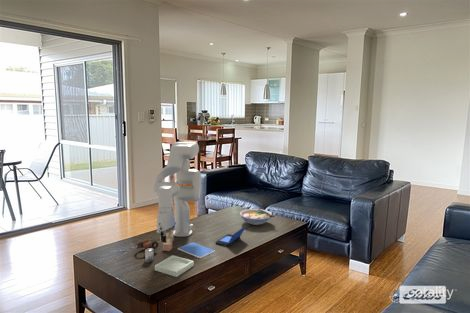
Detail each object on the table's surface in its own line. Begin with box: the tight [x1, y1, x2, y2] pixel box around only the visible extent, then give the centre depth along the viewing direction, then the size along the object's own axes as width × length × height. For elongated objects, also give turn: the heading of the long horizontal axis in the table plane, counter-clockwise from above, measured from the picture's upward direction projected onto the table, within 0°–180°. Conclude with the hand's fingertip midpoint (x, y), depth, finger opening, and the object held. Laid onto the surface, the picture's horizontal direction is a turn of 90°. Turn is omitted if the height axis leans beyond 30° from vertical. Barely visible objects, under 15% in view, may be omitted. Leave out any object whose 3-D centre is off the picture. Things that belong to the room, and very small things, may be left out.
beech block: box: [159, 229, 174, 244], centre depth 182 cm, size 5×5×6 cm
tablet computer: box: [177, 241, 216, 259], centre depth 192 cm, size 19×13×1 cm, turn 49°
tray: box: [154, 254, 195, 278], centre depth 170 cm, size 14×14×2 cm
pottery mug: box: [136, 239, 160, 257], centre depth 189 cm, size 12×10×8 cm
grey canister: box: [144, 248, 155, 263], centre depth 178 cm, size 4×4×6 cm
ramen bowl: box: [239, 207, 275, 226], centre depth 238 cm, size 25×23×8 cm
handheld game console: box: [215, 226, 247, 248], centre depth 204 cm, size 16×13×9 cm
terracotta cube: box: [162, 241, 173, 252], centre depth 193 cm, size 4×4×4 cm
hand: (167, 239), depth 183 cm, fingers closed on beech block, 5 cm apart
